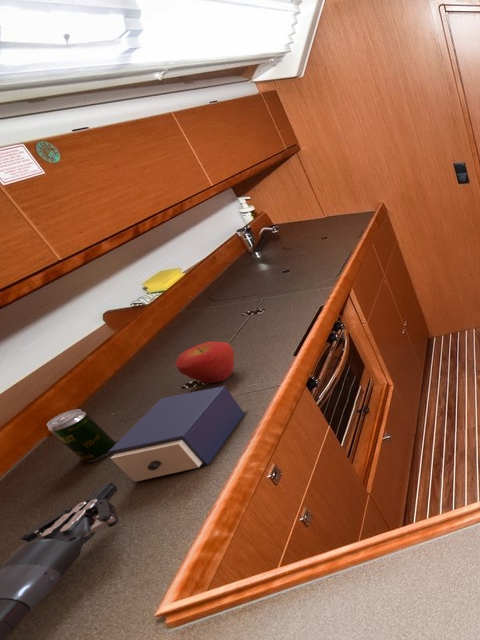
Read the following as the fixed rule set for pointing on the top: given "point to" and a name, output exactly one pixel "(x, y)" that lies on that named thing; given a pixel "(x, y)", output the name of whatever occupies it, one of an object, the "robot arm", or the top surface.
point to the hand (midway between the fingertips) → (109, 486)
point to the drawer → (156, 460)
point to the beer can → (81, 435)
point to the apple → (207, 362)
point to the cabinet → (186, 423)
